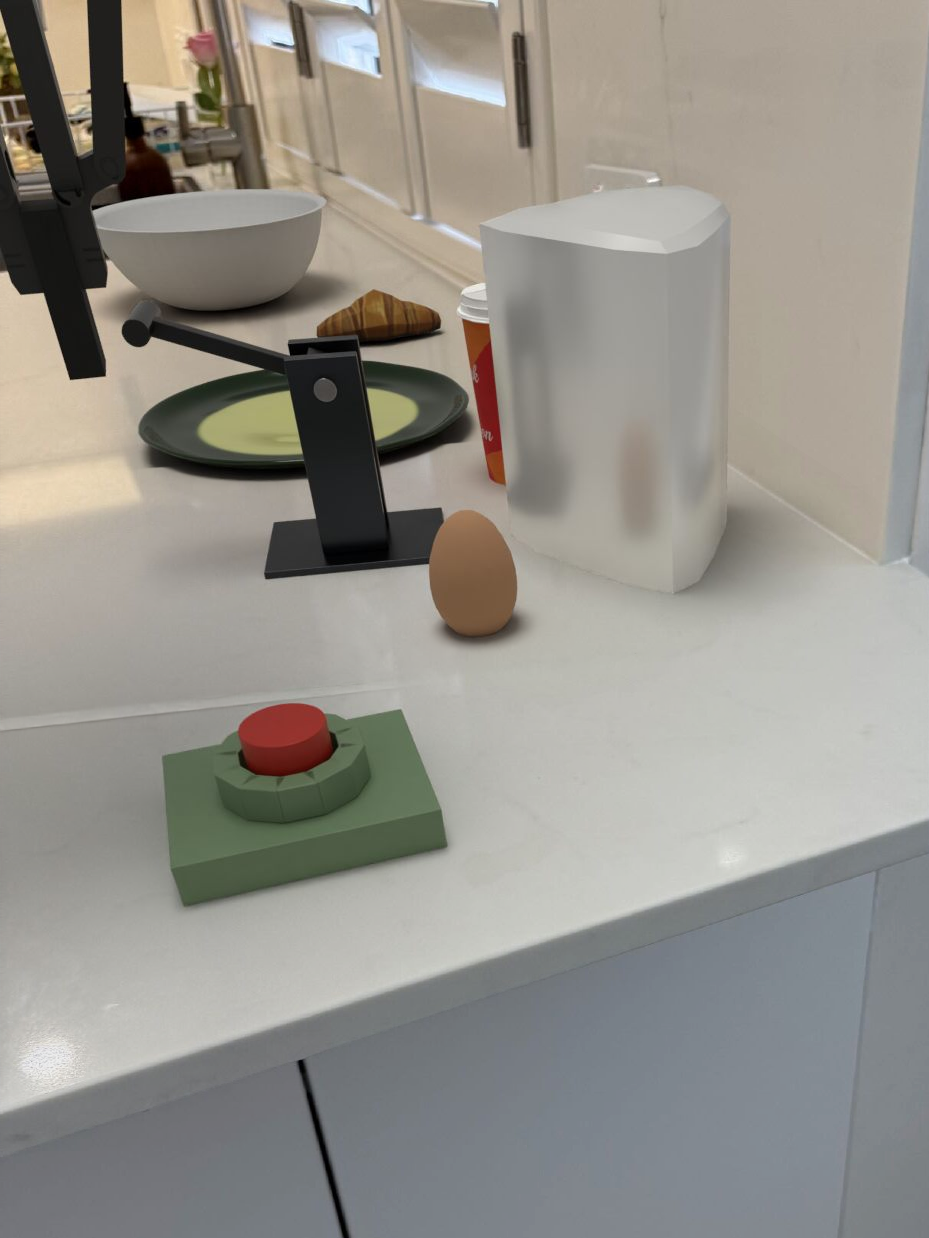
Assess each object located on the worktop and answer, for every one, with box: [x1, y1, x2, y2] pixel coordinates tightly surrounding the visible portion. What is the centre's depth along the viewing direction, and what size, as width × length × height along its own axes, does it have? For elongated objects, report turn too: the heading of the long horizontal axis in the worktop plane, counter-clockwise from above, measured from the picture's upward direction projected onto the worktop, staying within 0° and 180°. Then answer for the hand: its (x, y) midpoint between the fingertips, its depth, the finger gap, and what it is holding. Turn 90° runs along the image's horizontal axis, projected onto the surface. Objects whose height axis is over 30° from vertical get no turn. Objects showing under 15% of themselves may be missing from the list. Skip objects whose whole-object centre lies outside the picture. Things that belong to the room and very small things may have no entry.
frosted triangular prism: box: [478, 184, 731, 595], centre depth 78 cm, size 15×14×22 cm
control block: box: [161, 708, 448, 907], centre depth 58 cm, size 12×10×4 cm
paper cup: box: [456, 282, 506, 486], centre depth 90 cm, size 8×8×14 cm
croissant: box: [316, 289, 442, 343], centre depth 129 cm, size 14×7×5 cm, turn 112°
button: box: [237, 702, 333, 777], centre depth 56 cm, size 4×4×2 cm
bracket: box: [263, 335, 445, 580], centre depth 80 cm, size 12×9×14 cm
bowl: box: [92, 188, 328, 312], centre depth 142 cm, size 27×27×10 cm
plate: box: [137, 359, 470, 470], centre depth 105 cm, size 28×28×2 cm
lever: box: [121, 299, 327, 375], centre depth 75 cm, size 13×5×2 cm, turn 100°
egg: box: [428, 509, 518, 638], centre depth 72 cm, size 5×5×8 cm
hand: (88, 369), depth 54 cm, fingers closed
